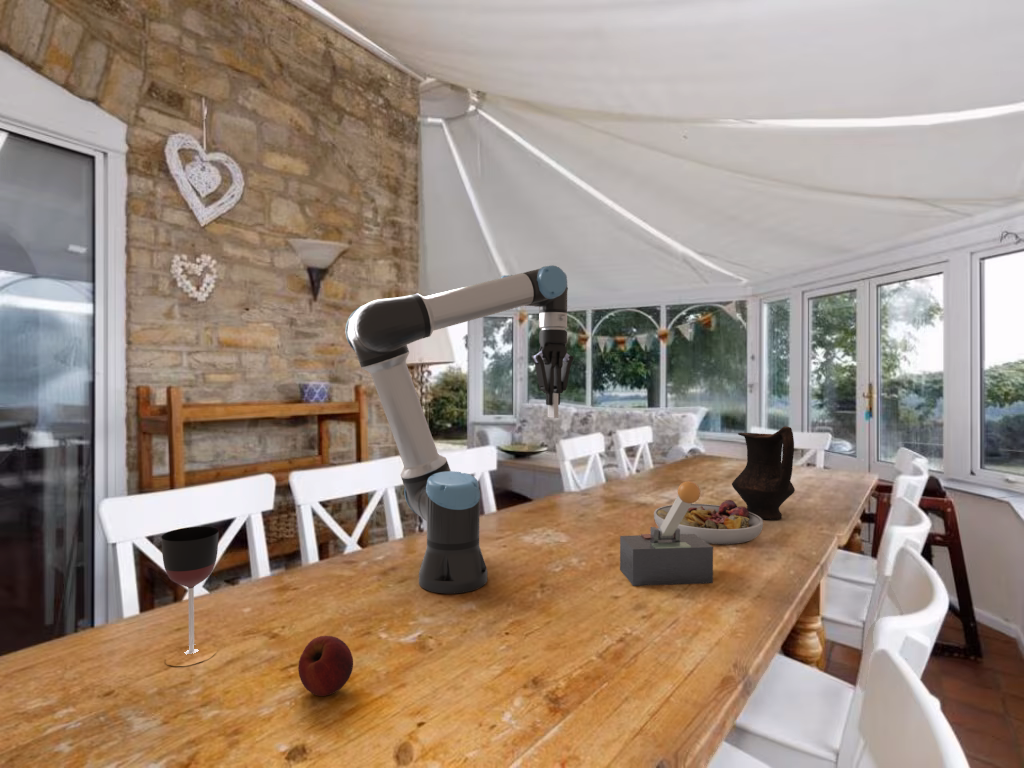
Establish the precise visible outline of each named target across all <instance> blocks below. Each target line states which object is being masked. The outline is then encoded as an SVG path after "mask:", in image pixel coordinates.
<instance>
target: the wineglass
mask: <svg viewBox="0 0 1024 768" xmlns="http://www.w3.org/2000/svg"><path fill="white" fill-rule="evenodd" d="M218 548H219V529H218V528H216V527H212V526H192V527H184V528H178V529H174V530H171V531H168V532H166V533H164V534H162V535H161V553H162V554H161V555H162V560H163V566H164V567H163V568H164V571H165V572H166V574H167V577H168V578H169V580H170V581H172V582H173V583H176V584H177V585H180V586H183V587H187V588H188V589H187V592H188V596H187V597H188V599H187V601H188V603H187V604H188V646H189V650H187V651H186V652H184V653H185V654H186V655H187V654H192V653H193V654H194V653H196V652H198V651H199V650H198V649H194V645H195V596H194V595H195V594H194V593H195V590H194V589H195V586H197V585H199V584H201V583H202V582H204V581H205V580H206V579H207V578H208V577H210V575H211V574H212V572H213V571H214V568H215V566H216V563H217V558H218V551H219V550H218Z"/></svg>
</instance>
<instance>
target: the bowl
mask: <svg viewBox="0 0 1024 768" xmlns="http://www.w3.org/2000/svg"><path fill="white" fill-rule="evenodd" d="M672 505H673V504H669V505H663V506H660V507H657V508H656V509H655V510H654V511H653V518H654V521H655V524H656V526H657V528H660V527H661V525H662V523H663V521H664V520H665V518H666V516H667V514H668V512H669V511H670V509H671V507H672ZM763 520H764V519H761V518H760V517H759V516H757V515H756V514H753V513H751V512H748V510H747V507H745V506H737V503H736V502H735V501H734V500H732V499H727V500H724V501H723V502H722V503H721V504H720V505H719V504H718V505H717V504H708V503H692V504H691V506H690V507H689V509H688V511H687V512H686V514H685V516H684V517H683V519H682V521H681V522H680V524H679V526H678V527H677V528H679V529H680V534H695V535H696V536H698V537H699V538H701V539H702V540H704V541H705V542H706V543H708V544H709V545H735V544H743V543H747V542H750V541H752V540H754V539H755V538H757V537H758V536H759V535H760V534H761V533H762V530H763V526H764V521H763Z"/></svg>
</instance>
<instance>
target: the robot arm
mask: <svg viewBox="0 0 1024 768" xmlns="http://www.w3.org/2000/svg"><path fill="white" fill-rule="evenodd" d="M567 276H568V275H567V274H566V272H564V270H563V269H562V268H561V267H560V266H557V265H554V264H553V265H552V264H551V265H547V266H546V265H545V266H542V267H541V268H537V269H534V270H528V271H526V272H521V273H517V274H516V273H515V274H510V275H507V274H506V275H502V276H501V277H499V278H497V279H492V280H488V281H484V282H480V283H476V284H471V285H467V286H464V287H459V288H455V289H450V290H448V291H447V290H446V291H443V292H438V293H435V294H434V293H433V294H431V295H426V296H423V295H421V294H419V293H415V294H409V295H405V296H404V295H403V296H398V297H389V298H380V299H374V300H372V301H369V302H367V303H366V304H364V305H361V306H358V307H357V308H356V309H355V310H353V312H352V313H351V314H350V315H349V317H348V319H347V321H346V324H345V337H346V340H347V343H348V344H349V346H350V347H351V348H352V350H353V351H354V352H355V355H356V357H357V360H358V362H359V365H360V368H361V369H362V370H364V371H366V372H368V373H369V374H370V376H371V379H372V382H373V384H374V387H375V389H376V390H375V391H376V392H377V395H378V398H379V400H380V401H379V402H380V403H381V407H382V410H383V412H384V415H385V417H386V419H387V423H388V425H389V428H390V431H391V435H392V436H393V438H394V439H393V440H394V442H395V445H396V448H397V450H398V453H399V455H400V458H401V461H402V465H403V468H402V471H401V473H400V478H401V481H402V483H403V486H404V490H403V492H404V498H405V499H404V500H405V501H406V504H407V505H408V507H409V509H410V510H411V511H412V512H413V513H414V514H416V515H417V516H419V517H421V519H423V520H424V521H426V549H425V552H424V556H423V559H422V562H421V565H420V568H419V572H418V585H419V586H420V588H422V589H424V590H425V591H428V592H431V593H438V594H445V595H446V594H451V595H452V594H463V593H469V592H472V591H476V590H478V589H480V588H482V587H484V586H485V585H487V583H488V568H487V566H486V565H487V564H486V562H485V558H484V556H483V553H482V550H481V547H480V505H481V504H480V503H481V502H480V499H481V492H480V484H479V481H478V479H477V478H476V477H475V476H474V475H471V474H469V473H467V472H461V471H455V470H454V471H453V470H451V468H450V465H449V462H448V460H447V458H446V457H445V456H443V455H442V454H439V452H438V450H437V447H436V444H435V441H434V439H433V436H432V432H431V430H430V426H429V424H428V422H427V418H426V416H425V412H424V410H423V408H422V405H421V400H420V399H419V396H418V393H417V390H416V388H415V387H416V386H415V384H414V382H413V379H412V376H411V373H410V370H409V368H408V364H407V359H408V357H409V354H410V351H409V347H408V345H410V344H412V343H414V342H416V341H419V340H422V339H426V338H430V337H431V336H432V334H433V332H435V331H437V330H441V329H444V328H449V327H453V326H455V325H456V326H457V325H460V324H462V323H466V322H469V321H474V320H478V319H480V318H484V317H487V316H492V315H495V314H499V313H502V312H507V311H510V310H513V309H516V308H521V307H524V306H525V307H538V311H539V312H538V314H539V315H538V317H539V318H538V328H539V329H540V330H539V332H538V336H539V338H538V343H539V344H540V346H539V349H538V353H536V354H535V355H534V354H532V355H531V359H532V361H533V363H534V366H535V371H536V376H537V377H536V378H537V383H538V387H539V391H542V392H543V393H545V404H546V406H547V417H548V418H551V419H552V418H554V419H556V418H559V406H560V405H561V404H560V403H561V394H563V393H564V391H567V387H568V383H569V378H570V377H569V376H570V371H571V365H572V364H573V361H574V356H573V355H570V354H568V350H567V347H566V345H567V344H568V331H567V330H566V329H567V328H568V290H569V288H568V277H567Z"/></svg>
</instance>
